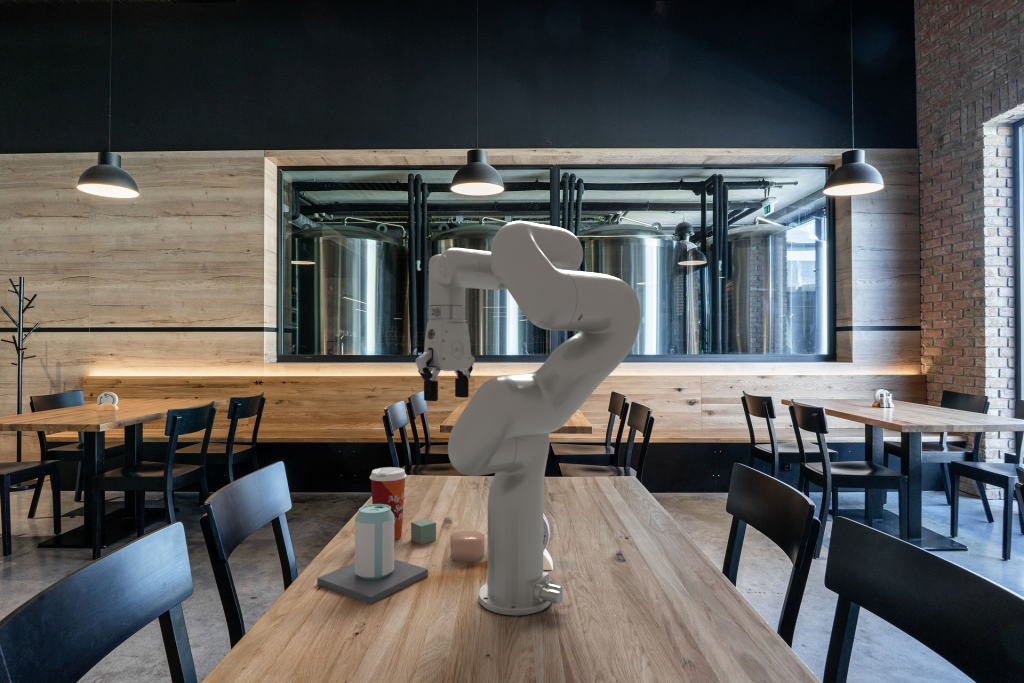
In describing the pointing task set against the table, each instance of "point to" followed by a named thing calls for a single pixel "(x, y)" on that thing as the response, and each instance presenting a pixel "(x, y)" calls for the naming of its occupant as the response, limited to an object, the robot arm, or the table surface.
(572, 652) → the table surface
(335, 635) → the table surface
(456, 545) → the peach smooth rounded part
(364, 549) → the can
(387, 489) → the coffee cup
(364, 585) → the slate board
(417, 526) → the green block
